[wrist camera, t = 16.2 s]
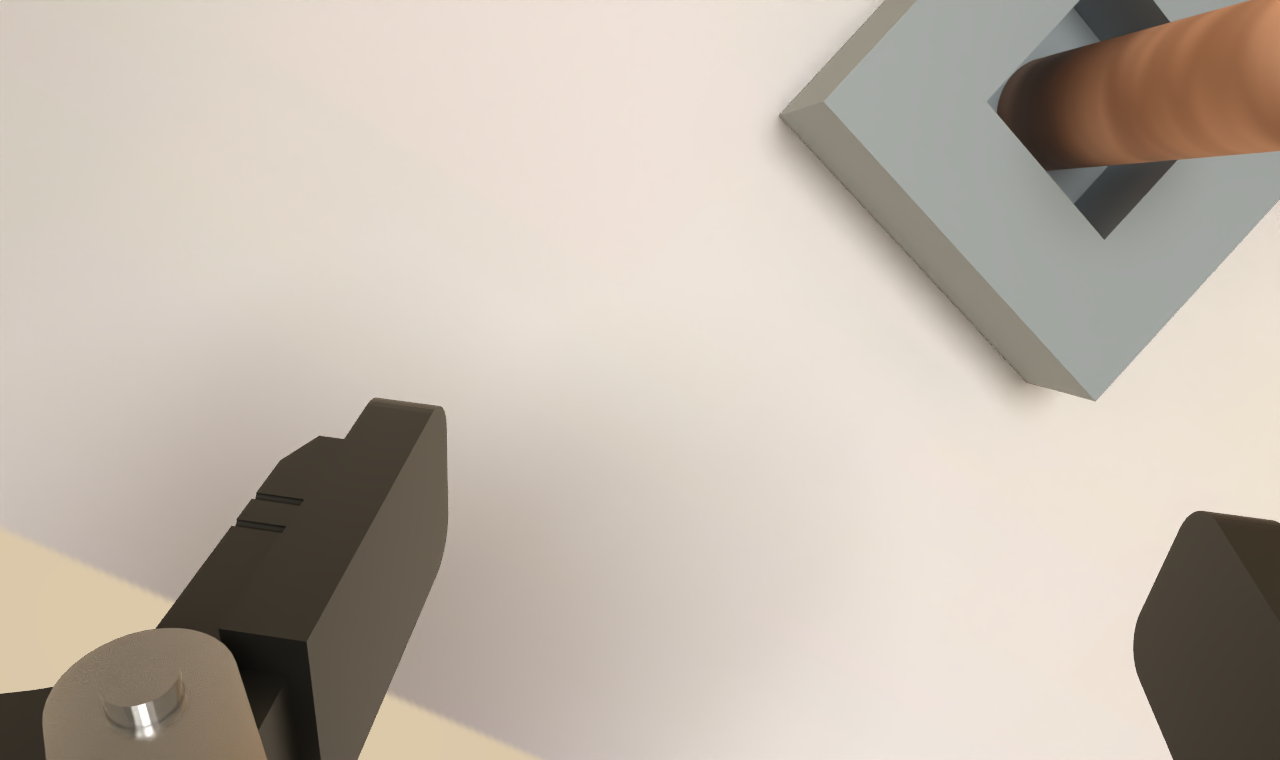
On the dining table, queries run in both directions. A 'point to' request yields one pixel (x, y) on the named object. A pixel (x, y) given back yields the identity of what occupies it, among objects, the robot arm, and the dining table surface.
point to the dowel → (1154, 93)
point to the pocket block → (1024, 183)
